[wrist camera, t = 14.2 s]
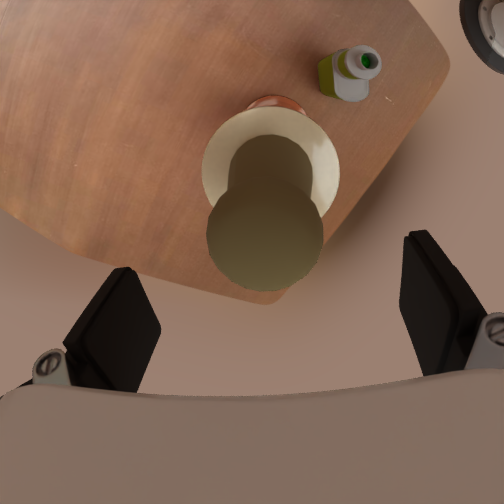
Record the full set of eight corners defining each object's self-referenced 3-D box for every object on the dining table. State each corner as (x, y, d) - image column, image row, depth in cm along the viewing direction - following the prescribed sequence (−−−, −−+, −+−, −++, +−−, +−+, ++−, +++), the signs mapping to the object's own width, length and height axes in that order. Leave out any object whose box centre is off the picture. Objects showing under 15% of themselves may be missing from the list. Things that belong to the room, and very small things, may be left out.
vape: (342, 56, 36) (389, 39, 19) (345, 96, 39) (393, 108, 22) (316, 56, 37) (345, 36, 20) (320, 97, 40) (350, 106, 23)
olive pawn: (328, 189, 22) (361, 276, 13) (258, 227, 24) (243, 329, 15) (284, 118, 20) (289, 151, 11) (212, 163, 22) (159, 232, 13)
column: (320, 110, 41) (361, 139, 20) (295, 171, 46) (307, 254, 25) (253, 85, 40) (225, 87, 19) (230, 149, 45) (186, 213, 24)
